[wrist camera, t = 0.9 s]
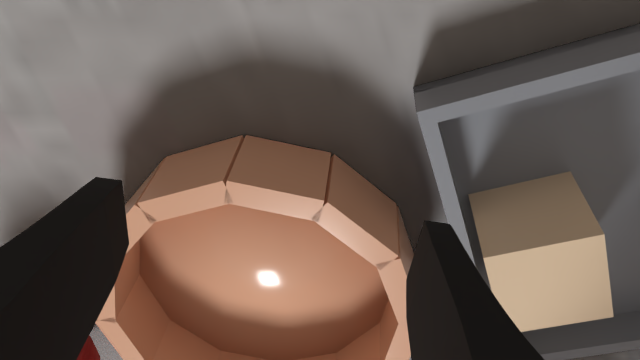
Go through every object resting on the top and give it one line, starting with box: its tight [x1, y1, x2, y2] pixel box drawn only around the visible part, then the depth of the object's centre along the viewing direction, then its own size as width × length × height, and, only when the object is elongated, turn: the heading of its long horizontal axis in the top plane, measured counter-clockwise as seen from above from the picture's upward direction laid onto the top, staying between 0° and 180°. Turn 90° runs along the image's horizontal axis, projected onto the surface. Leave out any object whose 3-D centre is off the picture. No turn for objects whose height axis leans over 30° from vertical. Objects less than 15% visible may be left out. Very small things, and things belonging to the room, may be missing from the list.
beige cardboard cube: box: [468, 171, 614, 332], centre depth 22 cm, size 4×4×4 cm
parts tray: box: [413, 24, 640, 360], centre depth 22 cm, size 14×14×2 cm
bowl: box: [95, 135, 414, 360], centre depth 26 cm, size 14×14×4 cm
